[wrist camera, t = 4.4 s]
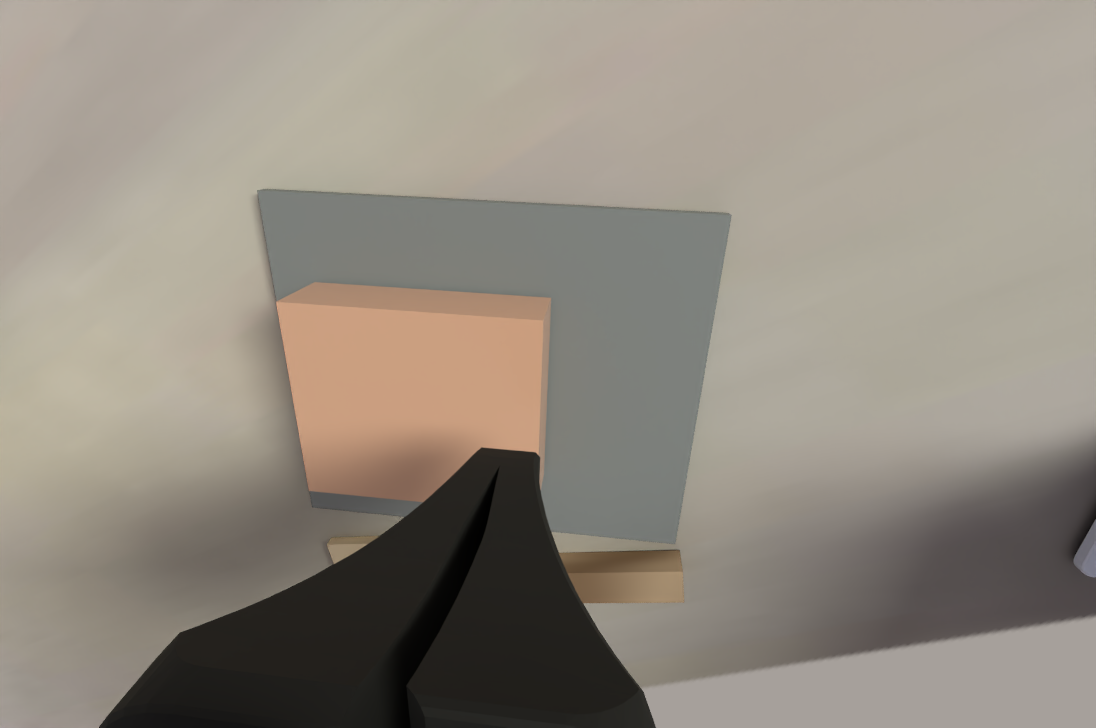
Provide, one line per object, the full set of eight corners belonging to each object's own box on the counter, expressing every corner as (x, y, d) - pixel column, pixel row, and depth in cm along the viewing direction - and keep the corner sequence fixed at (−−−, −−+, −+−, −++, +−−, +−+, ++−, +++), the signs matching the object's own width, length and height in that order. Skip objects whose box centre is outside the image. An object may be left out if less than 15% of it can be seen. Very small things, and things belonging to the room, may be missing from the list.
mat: (728, 213, 14) (731, 215, 14) (673, 536, 19) (675, 544, 18) (265, 188, 15) (257, 190, 15) (317, 500, 20) (312, 507, 19)
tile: (543, 320, 13) (275, 301, 14) (536, 513, 16) (308, 490, 16) (551, 296, 15) (316, 280, 16) (544, 471, 18) (341, 452, 18)
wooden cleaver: (678, 525, 18) (681, 545, 18) (682, 602, 20) (685, 625, 19) (333, 535, 21) (320, 554, 20) (358, 604, 22) (347, 625, 21)
